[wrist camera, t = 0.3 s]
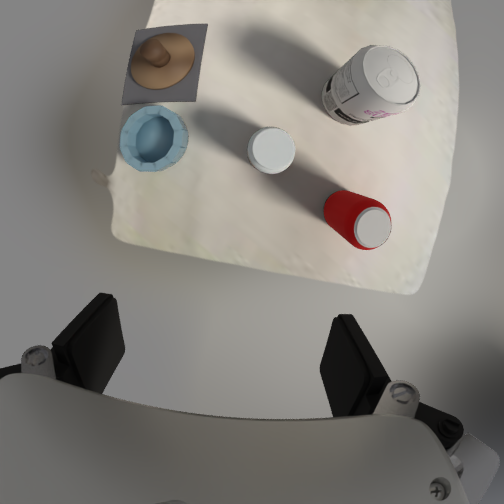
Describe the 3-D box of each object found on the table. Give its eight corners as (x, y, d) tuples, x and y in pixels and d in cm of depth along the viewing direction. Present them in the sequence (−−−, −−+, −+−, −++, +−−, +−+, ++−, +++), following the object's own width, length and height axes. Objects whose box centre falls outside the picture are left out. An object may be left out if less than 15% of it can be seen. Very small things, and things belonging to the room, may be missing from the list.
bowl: (134, 112, 34) (123, 108, 30) (192, 110, 35) (185, 104, 31) (129, 170, 37) (118, 171, 33) (186, 171, 37) (179, 172, 34)
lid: (139, 38, 30) (124, 24, 24) (199, 33, 30) (191, 16, 24) (128, 92, 33) (111, 83, 27) (190, 88, 33) (180, 77, 27)
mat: (136, 31, 29) (136, 30, 29) (207, 24, 30) (207, 23, 29) (122, 105, 34) (121, 104, 33) (195, 101, 34) (195, 101, 34)
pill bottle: (239, 158, 37) (236, 157, 28) (260, 125, 35) (264, 113, 26) (273, 179, 38) (281, 184, 29) (294, 146, 36) (309, 141, 27)
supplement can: (345, 67, 32) (388, 30, 18) (380, 108, 34) (436, 89, 20) (309, 94, 34) (341, 60, 20) (346, 136, 36) (395, 125, 22)
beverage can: (323, 188, 38) (351, 198, 27) (361, 191, 38) (400, 203, 27) (320, 228, 40) (345, 253, 29) (357, 229, 40) (392, 254, 29)
